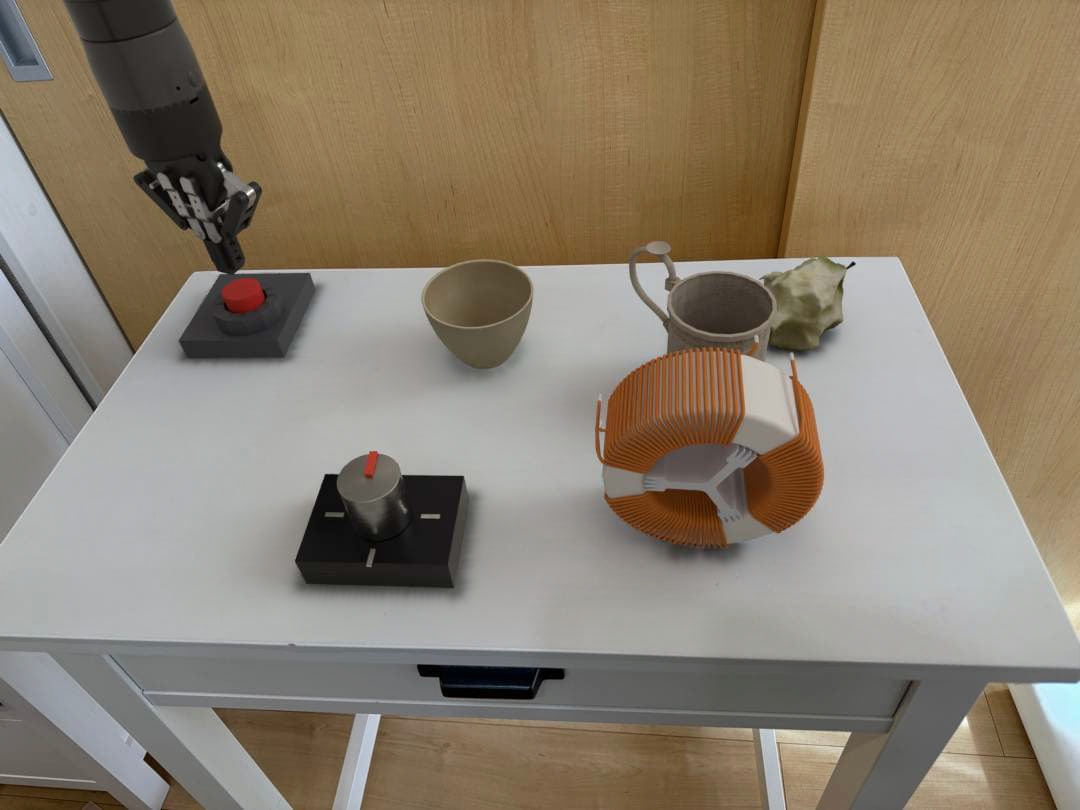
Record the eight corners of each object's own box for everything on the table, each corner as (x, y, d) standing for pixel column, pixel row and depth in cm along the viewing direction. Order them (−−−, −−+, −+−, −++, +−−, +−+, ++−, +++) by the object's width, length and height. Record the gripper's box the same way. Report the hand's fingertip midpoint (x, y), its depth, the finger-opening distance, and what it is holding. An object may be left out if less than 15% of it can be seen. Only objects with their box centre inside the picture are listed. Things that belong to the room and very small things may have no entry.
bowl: (426, 388, 70) (412, 328, 65) (443, 319, 77) (431, 259, 72) (535, 387, 69) (529, 326, 64) (541, 318, 76) (536, 257, 71)
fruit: (823, 307, 76) (858, 244, 70) (831, 376, 70) (870, 314, 64) (732, 289, 76) (759, 225, 70) (733, 357, 70) (762, 293, 64)
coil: (802, 559, 54) (848, 414, 44) (593, 545, 56) (588, 403, 46) (792, 483, 59) (831, 337, 49) (599, 473, 61) (597, 330, 51)
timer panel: (305, 587, 56) (292, 563, 53) (335, 494, 62) (325, 469, 59) (453, 592, 54) (446, 567, 52) (469, 496, 61) (464, 471, 58)
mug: (791, 387, 67) (816, 273, 58) (722, 449, 62) (739, 336, 54) (662, 318, 74) (668, 210, 66) (593, 369, 70) (590, 259, 62)
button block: (284, 357, 74) (271, 325, 71) (187, 357, 75) (170, 326, 72) (315, 289, 82) (305, 258, 79) (227, 290, 83) (213, 259, 80)
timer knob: (407, 541, 54) (393, 499, 51) (346, 541, 55) (329, 500, 51) (416, 492, 57) (404, 449, 54) (359, 492, 58) (343, 450, 54)
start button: (258, 314, 73) (252, 299, 72) (222, 314, 74) (215, 300, 73) (270, 291, 76) (264, 277, 75) (235, 292, 76) (229, 277, 75)
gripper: (57, 96, 60) (152, 278, 72) (184, 116, 55) (262, 306, 68) (128, 59, 64) (206, 236, 77) (251, 75, 60) (312, 259, 72)
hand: (232, 268), depth 72 cm, fingers closed
